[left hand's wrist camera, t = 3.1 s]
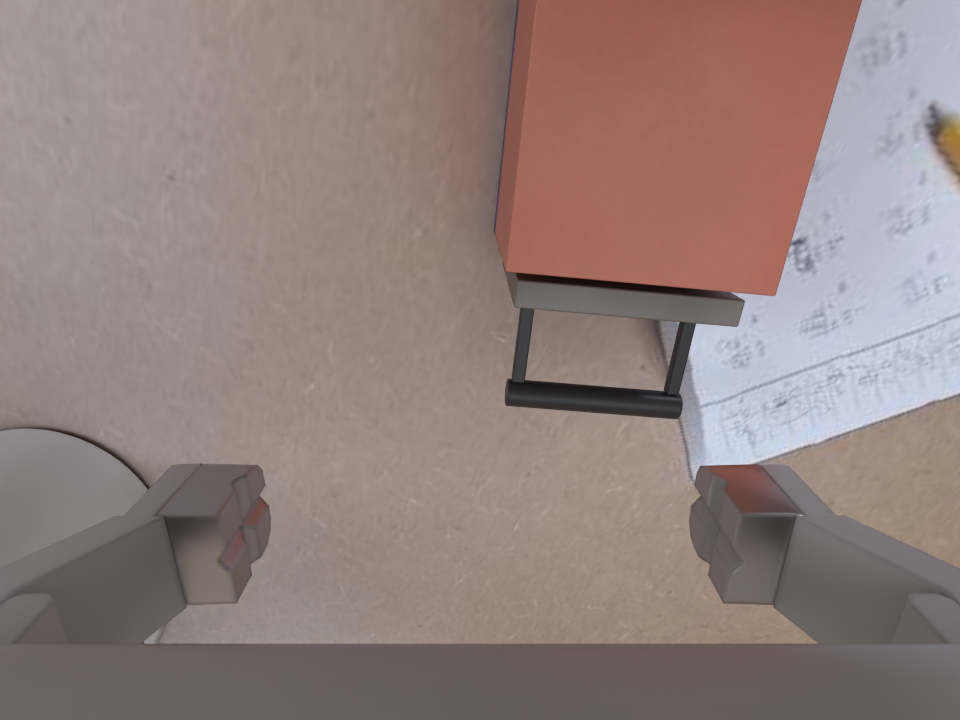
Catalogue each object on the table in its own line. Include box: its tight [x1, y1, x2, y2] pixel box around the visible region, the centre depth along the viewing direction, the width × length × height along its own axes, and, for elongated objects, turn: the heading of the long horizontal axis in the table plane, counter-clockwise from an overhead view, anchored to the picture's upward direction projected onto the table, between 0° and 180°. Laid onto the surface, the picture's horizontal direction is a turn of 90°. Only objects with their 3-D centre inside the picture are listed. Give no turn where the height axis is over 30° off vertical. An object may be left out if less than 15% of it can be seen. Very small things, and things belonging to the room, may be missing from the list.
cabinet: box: [494, 0, 862, 296], centre depth 24 cm, size 18×11×11 cm, turn 175°
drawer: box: [503, 263, 745, 419], centre depth 26 cm, size 22×10×9 cm, turn 175°
